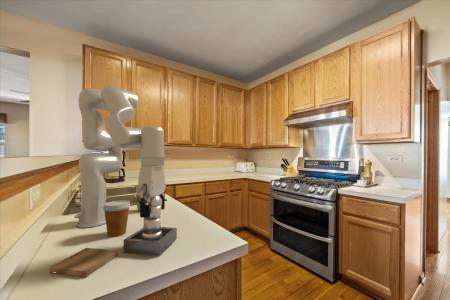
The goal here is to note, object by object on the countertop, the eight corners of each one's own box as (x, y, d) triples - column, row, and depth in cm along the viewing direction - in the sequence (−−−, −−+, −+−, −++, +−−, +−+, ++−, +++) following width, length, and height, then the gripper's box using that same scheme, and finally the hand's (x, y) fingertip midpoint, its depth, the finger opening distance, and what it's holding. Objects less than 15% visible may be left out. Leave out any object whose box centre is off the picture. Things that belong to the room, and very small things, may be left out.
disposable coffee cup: (135, 230, 80) (135, 201, 81) (115, 240, 71) (116, 206, 72) (117, 227, 83) (118, 199, 84) (96, 236, 74) (96, 204, 75)
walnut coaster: (49, 273, 52) (49, 267, 52) (86, 252, 62) (86, 247, 62) (86, 277, 50) (86, 271, 50) (117, 255, 61) (117, 250, 61)
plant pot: (130, 212, 105) (130, 196, 106) (140, 208, 115) (140, 193, 115) (146, 213, 104) (146, 197, 104) (155, 208, 113) (155, 193, 113)
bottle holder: (123, 252, 62) (123, 239, 62) (145, 236, 74) (145, 226, 74) (160, 256, 60) (160, 242, 60) (176, 239, 72) (176, 227, 72)
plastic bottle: (155, 250, 63) (156, 188, 64) (137, 248, 65) (137, 187, 65) (165, 242, 70) (166, 185, 70) (148, 240, 71) (149, 184, 72)
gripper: (155, 162, 77) (156, 206, 76) (126, 163, 60) (126, 220, 59) (173, 161, 76) (174, 206, 75) (149, 163, 59) (149, 221, 58)
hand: (153, 212), depth 67 cm, fingers open, 9 cm apart
